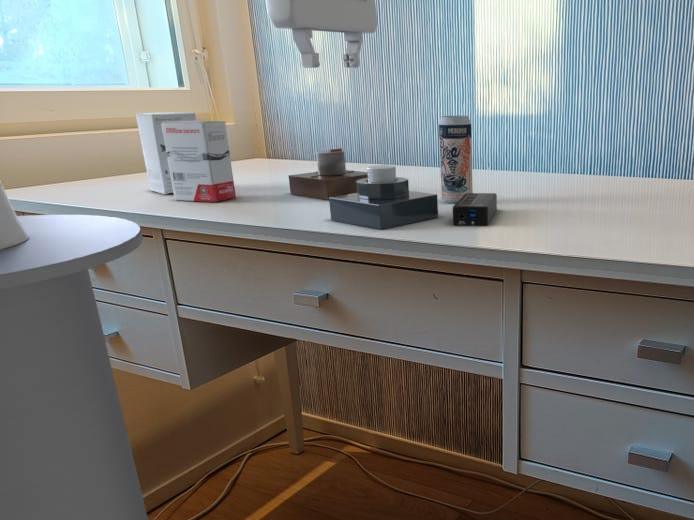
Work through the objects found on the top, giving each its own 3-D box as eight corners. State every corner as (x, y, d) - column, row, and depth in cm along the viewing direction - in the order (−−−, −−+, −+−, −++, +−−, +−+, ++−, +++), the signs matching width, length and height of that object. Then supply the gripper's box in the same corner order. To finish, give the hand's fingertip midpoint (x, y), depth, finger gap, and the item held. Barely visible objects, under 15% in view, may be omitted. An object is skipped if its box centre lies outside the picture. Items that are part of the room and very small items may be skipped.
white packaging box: (164, 195, 113) (149, 113, 108) (149, 190, 118) (134, 112, 113) (208, 190, 118) (196, 112, 113) (192, 186, 123) (179, 111, 118)
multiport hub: (497, 209, 95) (497, 193, 94) (487, 225, 85) (487, 206, 84) (465, 209, 96) (465, 192, 95) (452, 225, 86) (451, 206, 85)
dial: (329, 176, 108) (327, 151, 107) (313, 174, 111) (310, 150, 109) (351, 173, 111) (349, 149, 110) (335, 171, 114) (332, 147, 112)
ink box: (237, 197, 109) (226, 119, 105) (215, 202, 105) (202, 121, 100) (196, 195, 112) (183, 119, 108) (173, 200, 108) (158, 121, 103)
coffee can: (437, 203, 101) (434, 117, 96) (445, 198, 105) (442, 115, 101) (469, 203, 100) (467, 116, 96) (475, 198, 104) (474, 115, 100)
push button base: (380, 229, 84) (377, 188, 82) (330, 220, 90) (327, 181, 88) (438, 217, 91) (437, 178, 89) (388, 209, 97) (385, 173, 95)
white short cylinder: (380, 186, 86) (379, 169, 86) (362, 183, 89) (361, 167, 88) (402, 182, 89) (401, 166, 88) (383, 180, 91) (382, 164, 90)
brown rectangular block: (327, 200, 106) (325, 179, 104) (290, 194, 112) (288, 174, 111) (377, 191, 112) (376, 172, 111) (339, 186, 119) (338, 168, 117)
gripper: (346, -35, 100) (355, 68, 105) (249, -56, 83) (265, 68, 88) (383, -39, 97) (390, 67, 103) (291, -62, 80) (305, 67, 86)
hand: (332, 67), depth 95 cm, fingers open, 8 cm apart
